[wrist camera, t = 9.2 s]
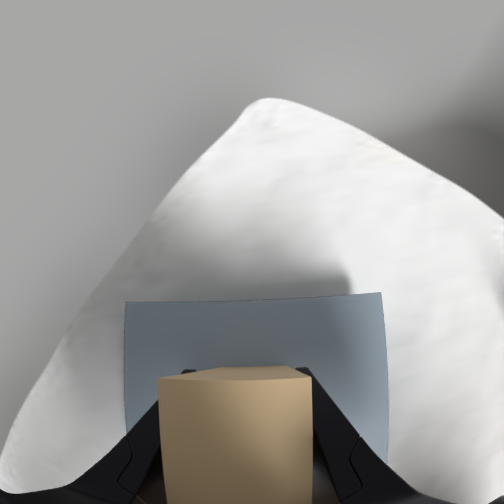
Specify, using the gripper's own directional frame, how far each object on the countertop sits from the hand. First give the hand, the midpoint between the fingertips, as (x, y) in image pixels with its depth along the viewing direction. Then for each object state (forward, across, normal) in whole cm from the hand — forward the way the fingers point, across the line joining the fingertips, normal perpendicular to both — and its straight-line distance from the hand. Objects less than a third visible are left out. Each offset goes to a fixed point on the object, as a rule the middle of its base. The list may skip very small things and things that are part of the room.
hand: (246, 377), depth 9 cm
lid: (+3, 0, +5) cm, 6 cm away
